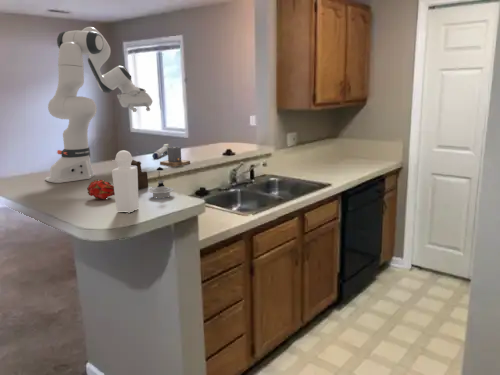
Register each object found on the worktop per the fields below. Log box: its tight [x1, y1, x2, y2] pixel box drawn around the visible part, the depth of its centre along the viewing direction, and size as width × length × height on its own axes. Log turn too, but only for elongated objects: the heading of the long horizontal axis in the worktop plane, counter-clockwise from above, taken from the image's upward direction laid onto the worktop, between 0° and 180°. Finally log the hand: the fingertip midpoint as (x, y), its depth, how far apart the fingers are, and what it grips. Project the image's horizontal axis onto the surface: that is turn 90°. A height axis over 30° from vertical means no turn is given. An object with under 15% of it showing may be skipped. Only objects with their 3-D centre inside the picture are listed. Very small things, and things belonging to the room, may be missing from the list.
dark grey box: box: [167, 145, 182, 162], centre depth 246 cm, size 5×6×8 cm
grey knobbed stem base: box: [148, 166, 175, 199], centre depth 174 cm, size 12×10×10 cm
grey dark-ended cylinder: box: [152, 143, 170, 160], centre depth 276 cm, size 5×7×25 cm
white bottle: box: [111, 149, 140, 212], centre depth 153 cm, size 6×6×22 cm
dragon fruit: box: [87, 179, 115, 200], centre depth 172 cm, size 8×8×12 cm
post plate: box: [159, 146, 191, 168], centre depth 246 cm, size 12×12×10 cm
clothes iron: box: [131, 159, 149, 190], centre depth 192 cm, size 8×16×13 cm, turn 44°
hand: (142, 110), depth 251 cm, fingers open, 8 cm apart
